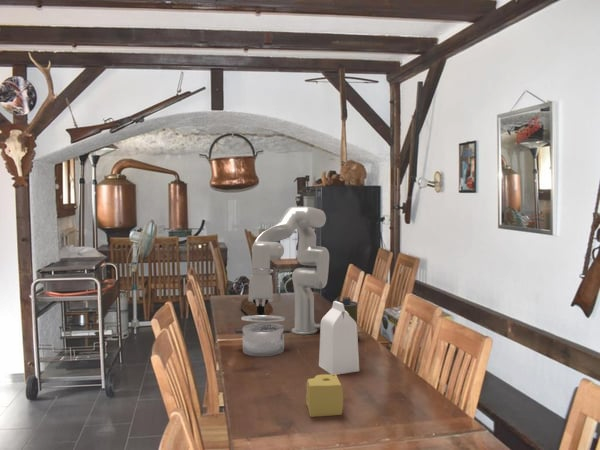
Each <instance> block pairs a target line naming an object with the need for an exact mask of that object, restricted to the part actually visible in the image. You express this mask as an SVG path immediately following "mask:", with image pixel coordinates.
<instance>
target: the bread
mask: <svg viewBox="0 0 600 450" xmlns="http://www.w3.org/2000/svg"><path fill="white" fill-rule="evenodd" d="M248 298H249V296H248V297H246V298H244V299H242V301H241V303H240V308H241V310H242V311H243V312H244V313H245V314H246V316H252V315H258V313H257V306H256V304H255V303H254V302H251V301H248ZM262 300H263V299H259V302H260V306H261V304H262ZM273 310H274V309H273V306H272V304H271V302H268V303H267V304H266V305H265V306H264V313H267V315H270V314H273V312H274V311H273Z"/></svg>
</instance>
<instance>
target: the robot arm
mask: <svg viewBox="0 0 600 450" xmlns="http://www.w3.org/2000/svg"><path fill="white" fill-rule="evenodd" d="M326 221H327V216H326V213H325V211H323V210H322V209H319V208H316V207H312V206H290V207H288V208H286V210H285V211H284V213H283V215H282V216H281V217H280V219H279V220H278V222H277V223H276V224H275V225H273V226H271V227H269V228H267V229H266V230H264V231H262V232H261V233H260V234H259V235H258V236H257V237H256V239H255V240H254V242H253V243H252V246H251V275H250V277H249V282H248V297H249V298H248V297H247V298H248V301H251V302H254V303H255V304H256V306H257V313H258V315H263V313H264V306H265V305H266V304H267V303H268V302H269V303H272V302H273V301H274V285H273V284H274V283H273V277H272V273H274V269H271V260H279V259H281V258H282V257H283V255H284V253H285V248H284V245H283V244H282V243H280V241H282V240H283V241H284V240H287V239H290V237H291V236H293V234H294V232H295V231H297V233H298V247H297V255H296V256H297V257H296V258H297V262H298V264H300V265H301V266H302V265H303V266H316V268H312V267H298V268H297V267H296V268H295V269H294V270H293V272H292V276H291V279H292V285H293V292H294V297H293V298H294V327H292V328H291V333H293V334H295V335H313V334H316V333H317V332H318V329H320V328H321V323H316V322H315V297H314V293H313V291H312V289H324V288H325V287H326V286H327V284H328V279H329V278H328V277H329V266H330V252H329V250H328V248H327V247H324V246H318V245H317V235H316V233H315V230H314V229H313V228H322V227H324V226H325V224H326ZM259 299H263V300H262V304H261V306H260V302H259Z"/></svg>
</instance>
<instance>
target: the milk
mask: <svg viewBox="0 0 600 450" xmlns="http://www.w3.org/2000/svg"><path fill="white" fill-rule="evenodd" d="M320 324H321V328H319V329H320V332H319V352H318V353H319V357H318V367H320V368H321V369H322V370H324V371H326V372H327V373H328V374H336V375H337V376H338V375H341V374H349V373H355V372H360V360H359V359H360V358H359V357H360V356H359V342H358V341H359V340H358V339H359V338H358V323H357V324H356V322H355V321H354V319H352V318H351V317H350V316H349V313H348V312H347V311H345V309H344V305H343V304H342V303H340V302H339V301H337V300H334V301H333V302H332V306H331V308H330V309H329V311H328V312H326V314H324V315H323V316H322V319H321V320H320Z"/></svg>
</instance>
